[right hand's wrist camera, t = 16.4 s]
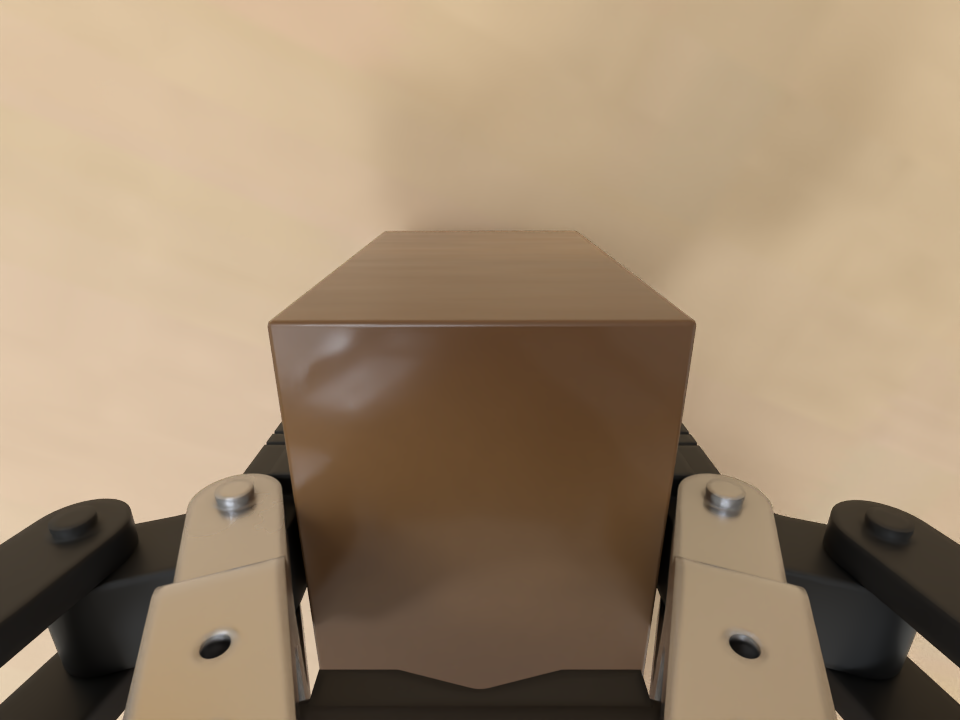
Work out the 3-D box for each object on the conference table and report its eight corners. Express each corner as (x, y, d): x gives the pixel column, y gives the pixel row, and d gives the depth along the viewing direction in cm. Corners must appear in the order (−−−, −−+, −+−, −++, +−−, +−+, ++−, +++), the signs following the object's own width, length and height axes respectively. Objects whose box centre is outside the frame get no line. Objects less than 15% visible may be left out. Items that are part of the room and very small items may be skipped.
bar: (383, 231, 14) (264, 321, 6) (577, 230, 14) (700, 321, 6) (419, 779, 22) (386, 1117, 14) (543, 778, 22) (577, 1117, 14)
